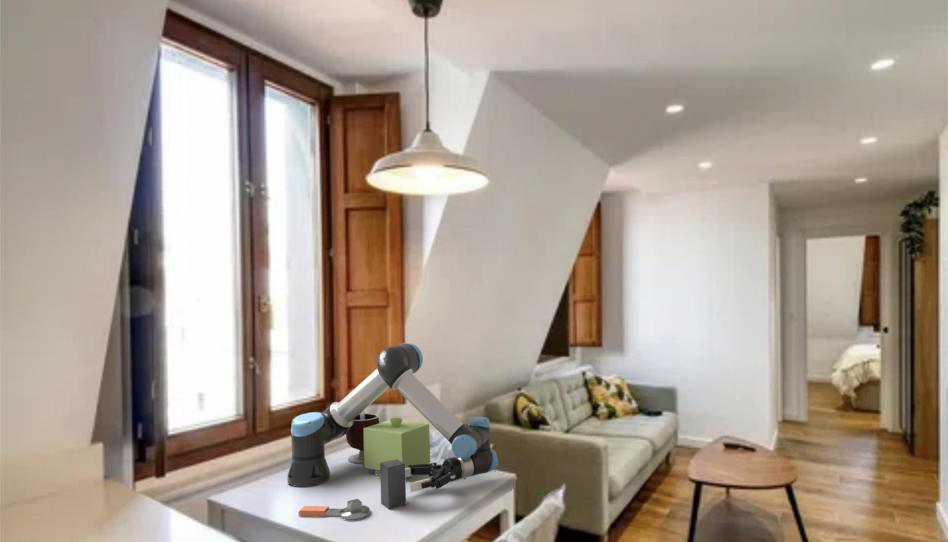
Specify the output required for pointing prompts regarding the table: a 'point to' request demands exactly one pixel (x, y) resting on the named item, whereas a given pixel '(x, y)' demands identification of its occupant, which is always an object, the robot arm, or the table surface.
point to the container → (396, 443)
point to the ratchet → (338, 511)
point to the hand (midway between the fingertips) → (401, 481)
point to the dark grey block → (393, 484)
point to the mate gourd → (359, 434)
